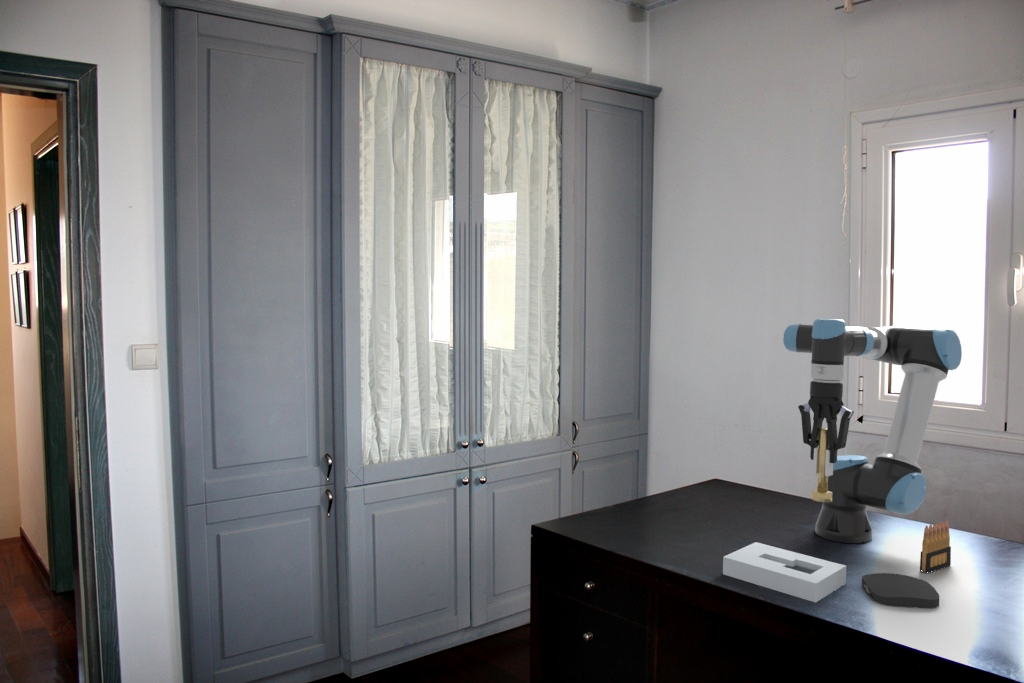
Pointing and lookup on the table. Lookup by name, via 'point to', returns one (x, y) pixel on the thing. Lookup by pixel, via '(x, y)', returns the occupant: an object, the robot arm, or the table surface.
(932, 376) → the robot arm
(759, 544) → the keyhole plate
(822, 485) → the brass peg
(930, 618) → the table surface
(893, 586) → the media streaming box
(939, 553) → the ammunition clip
